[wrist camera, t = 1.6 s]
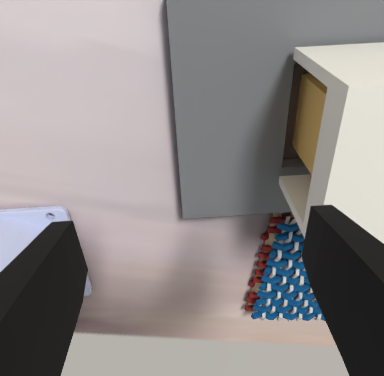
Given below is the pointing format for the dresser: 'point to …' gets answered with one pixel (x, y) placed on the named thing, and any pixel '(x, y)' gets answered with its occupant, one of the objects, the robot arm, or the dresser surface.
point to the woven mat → (282, 275)
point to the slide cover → (345, 137)
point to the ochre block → (309, 118)
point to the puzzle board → (247, 92)
